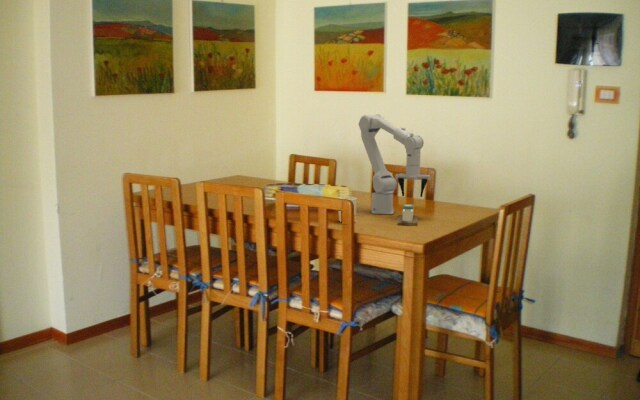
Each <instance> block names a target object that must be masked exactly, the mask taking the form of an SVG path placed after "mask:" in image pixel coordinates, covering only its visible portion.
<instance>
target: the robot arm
mask: <svg viewBox="0 0 640 400" xmlns="http://www.w3.org/2000/svg"><path fill="white" fill-rule="evenodd" d="M358 126H359V130H360V137H361V141H362V143H363V146H364V148H365V149H364V150H365V151H366V154H367V156H368V160H369V162H370V165H371V167H372V170H373V172H374V175H373V177H372V178H371V179H372V184H373V185H372V186H373V190H374V191H375V192H372V194H371V206H370V208H371V212H370V213H371V214H372V215H373V214H377V215H378V214H379V215H382V214H383V215H393V214H394V211H395V210H394V207H393V206H394V193H395V190H396V189H397V185H398V184H399V187H400V190H401V197H405V180H415V181H416V180H419V181H420V183H421V185H420V198H422V197H423V193H424V191H425V187H426V185H427V183H428V181H431V175H430V174H421V167H420V166H421V149H422V148H423V147H424V139H423V138H422V136H420V135H414V133H413V132H410V131H408V130H407V129H406V127H404V126H403V127H401V126H400V127H396V126H395V125H394V124H392V123H391V122H390V121H388V120H387V119H386V118H385V117H384V116H382V115H380V114H373V115H371V114H370V115H369V114H368V115H367V114H364V115H362V116H361V117H360V118H359V122H358ZM380 130H384V131H385V132H387V133H389V134H391V136H393V139H394V140H396V141H397V142H399V143H400V144H402V145H403V146H404V148H405V153H406V167H405V168H406V170H405V173H396V174H395V177H394V176H393V174H392V172H390V171H388V170H387V167H386V165H385V162H384V160H383V156H382V155H381V152H380V149H379V146H378V143H377V141H376V135H377V134H378V133H379V132H380ZM397 182H398V183H397Z"/></svg>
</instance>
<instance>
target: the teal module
mask: <svg viewBox="0 0 640 400" xmlns="http://www.w3.org/2000/svg"><path fill="white" fill-rule="evenodd" d="M406 204H407V203H405V204H403V205H402V208H403V209H413V205H414V204H412V205H406Z"/></svg>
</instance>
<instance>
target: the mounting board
mask: <svg viewBox="0 0 640 400" xmlns="http://www.w3.org/2000/svg"><path fill="white" fill-rule="evenodd" d="M402 218H403V214H399V215H398V219H397V222H396V223H397V224H396V225H397V226H410V227H411V226H415V227H417V226H418V222H419V221H418V220H419V215H418V214H417V215H415V214H413V220H412V221H402Z"/></svg>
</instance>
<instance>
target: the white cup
mask: <svg viewBox="0 0 640 400" xmlns="http://www.w3.org/2000/svg"><path fill="white" fill-rule="evenodd" d="M338 198H340V199H348V200H351V201H352V202H353V204H354V214H355V217H356V216H357V204H358V203H357V202H358V201H357V200H358V198H357V197H356V196H355V197H354V196H339V197H338ZM337 212H338V222H339V221H340V222H339V223H341V211H337Z"/></svg>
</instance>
